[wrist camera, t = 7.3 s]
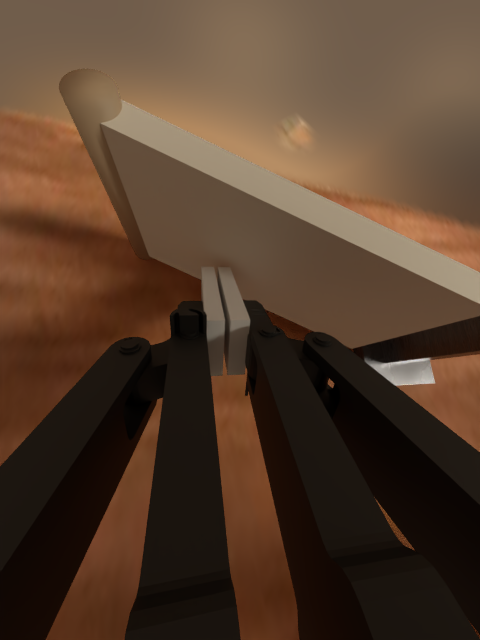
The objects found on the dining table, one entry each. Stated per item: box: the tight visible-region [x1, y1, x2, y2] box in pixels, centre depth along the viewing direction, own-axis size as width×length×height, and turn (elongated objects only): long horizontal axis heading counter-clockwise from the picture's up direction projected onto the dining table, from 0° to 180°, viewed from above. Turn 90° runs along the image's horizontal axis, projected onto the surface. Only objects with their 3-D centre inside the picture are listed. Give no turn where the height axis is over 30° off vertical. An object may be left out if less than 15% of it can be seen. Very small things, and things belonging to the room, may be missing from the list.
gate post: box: [353, 316, 480, 385], centre depth 15 cm, size 6×6×14 cm
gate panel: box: [59, 69, 480, 349], centre depth 15 cm, size 19×2×11 cm, turn 67°
